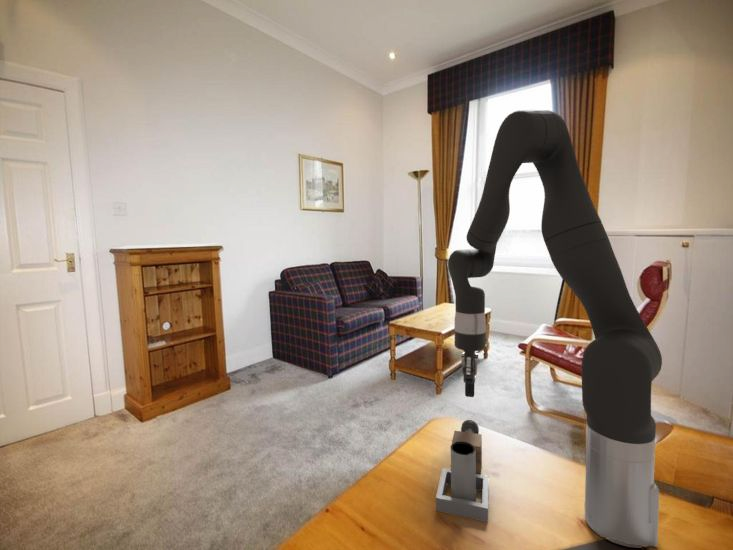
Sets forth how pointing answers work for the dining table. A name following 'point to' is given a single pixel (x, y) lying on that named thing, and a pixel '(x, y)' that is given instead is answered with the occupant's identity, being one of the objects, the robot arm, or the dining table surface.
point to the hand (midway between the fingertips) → (469, 395)
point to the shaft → (470, 427)
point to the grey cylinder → (463, 471)
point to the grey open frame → (460, 505)
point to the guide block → (475, 441)
